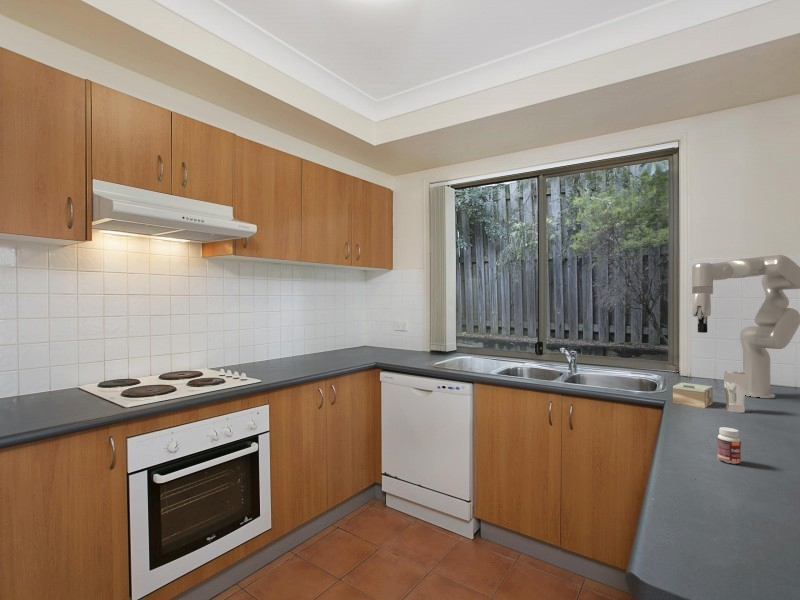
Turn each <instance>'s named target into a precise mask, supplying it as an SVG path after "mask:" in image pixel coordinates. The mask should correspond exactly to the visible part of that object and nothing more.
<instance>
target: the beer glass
mask: <svg viewBox="0 0 800 600" xmlns="http://www.w3.org/2000/svg"><path fill="white" fill-rule="evenodd" d="M723 388H724V393H725V398H726V403H725V404H726V405H725V409H724V410H725V411H727V412H730V413H735V412H736V414H737V413H738V414H745V413H746V408H745V399H746V398H745V397H746V396H745V394H746V389H747V380H746V373H743V371H733V370H725V371H724V374H723Z"/></svg>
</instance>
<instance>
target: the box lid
mask: <svg viewBox="0 0 800 600" xmlns="http://www.w3.org/2000/svg"><path fill="white" fill-rule="evenodd" d="M673 388H675V389H682V390H690V391H697V392H707V391H709V390H711V389H714V388H713V386H712V385H703V384H697V383H689V382H679V383H676V384H675V385H673V386H672V389H673Z"/></svg>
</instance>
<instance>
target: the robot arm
mask: <svg viewBox="0 0 800 600" xmlns="http://www.w3.org/2000/svg"><path fill="white" fill-rule="evenodd" d="M691 268H692V269H691V272H692V273H691V275H692V276H691V292H692V293H691V294H692V295H693V298H692V313H691V314H692V317H697V333H703V334H705V333H708V317H710V316H711V314H712V302H711V300H712V299H711V295H713V294H714V281H721V280H723V281H724V280H727V279H745V278H750V277H760V276H762V278H761V286H762V288H763V290H764V294H765V299H764V301H763V302H762V304H761V305H760V306H761V307H760V308H759V309H758V311H757V313H756V315H755V316H754V323H755V324H756V325H755V326H754V325H753V326H747V327H744V328H743V329H742V330H740V334H739V336H740V338H739V340H740V343H741V347H742V372H743V373H746V380H747V389H746V394H745V395H746V396H745V397H749V396H751V398H756V397H760V398H759V399H775V398H776V394H773V393H771V356H770V353H769V352H768V350H767V349H771V350H783V349H785V348H786V347H787V346H788V345H789V344H790V342H791V341H792V339H793V337H794V335H795V334H796V332H797V331H798V328H799V326H800V312H799V311H798V310H797V309H795V308H791V307H789V305H790V301H789V298H788V295H786V293H785V292H784V291H783V290H787V291H788V290H800V266H799V265H798V264H797V263H796V261H794V260H793V259H791V258H789V257H788V256H787V255H784V254H776V255H767V256H766V255H764V256H756V257H749V258H738V259H734V260H729V261H722V262H715V263H710V262H700V263H699V262H698V263H693V265H692V267H691Z"/></svg>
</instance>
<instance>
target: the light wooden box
mask: <svg viewBox="0 0 800 600" xmlns="http://www.w3.org/2000/svg"><path fill="white" fill-rule="evenodd" d="M713 389H714V388H713ZM713 389H711V390H709V391H707V392H697V391H690V390H682V389H675V388H673V387H672V403H673V404H678V405H684V406H690V407H695V408H703V409H705V408H707V407H709V406H711V405H713V400H714V399H713V396H714V395H713V394H714V393H713Z"/></svg>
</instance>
